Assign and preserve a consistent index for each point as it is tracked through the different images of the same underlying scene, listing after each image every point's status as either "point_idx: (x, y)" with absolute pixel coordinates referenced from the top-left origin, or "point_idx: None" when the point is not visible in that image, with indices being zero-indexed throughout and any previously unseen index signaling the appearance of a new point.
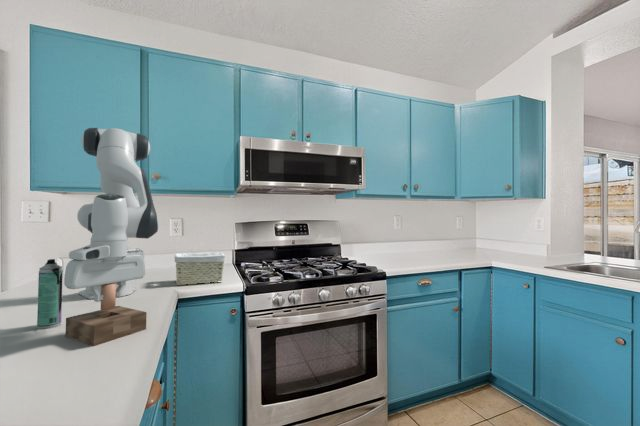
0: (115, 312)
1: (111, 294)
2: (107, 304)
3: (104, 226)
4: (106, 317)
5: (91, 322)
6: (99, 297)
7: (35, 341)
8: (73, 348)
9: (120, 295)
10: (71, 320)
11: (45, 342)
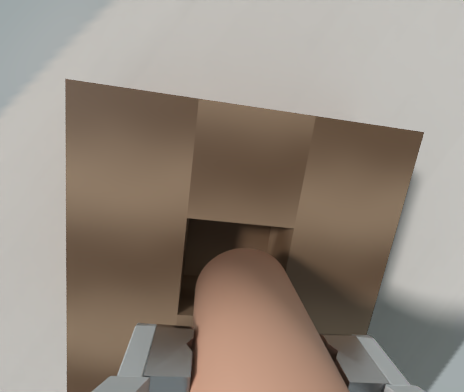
0: (177, 278)
1: (284, 334)
2: (285, 281)
3: None
4: None
5: (374, 215)
6: (376, 361)
7: None
8: None
9: (144, 330)
10: None
11: (373, 330)
